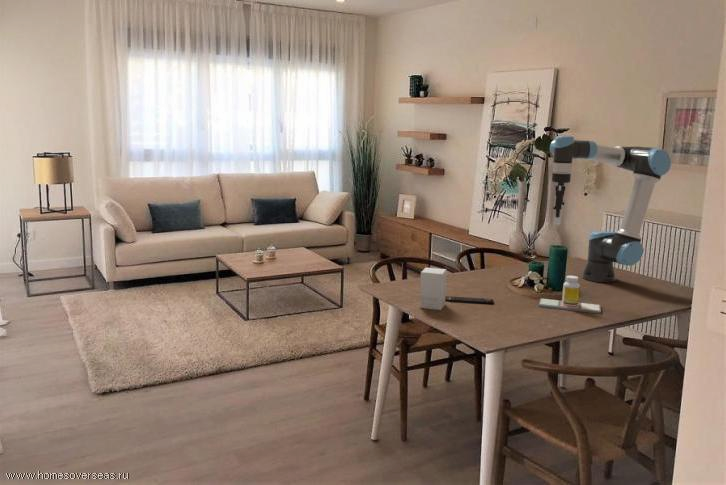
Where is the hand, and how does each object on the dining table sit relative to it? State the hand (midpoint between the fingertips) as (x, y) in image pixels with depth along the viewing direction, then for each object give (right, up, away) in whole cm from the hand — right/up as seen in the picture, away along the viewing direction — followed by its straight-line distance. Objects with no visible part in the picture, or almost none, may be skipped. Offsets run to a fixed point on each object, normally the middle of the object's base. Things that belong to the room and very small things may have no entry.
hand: (557, 222), depth 275 cm
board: (+1, -35, -13) cm, 37 cm away
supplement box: (-56, -35, -15) cm, 67 cm away
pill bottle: (+1, -34, -13) cm, 37 cm away
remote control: (-41, -34, -7) cm, 54 cm away
